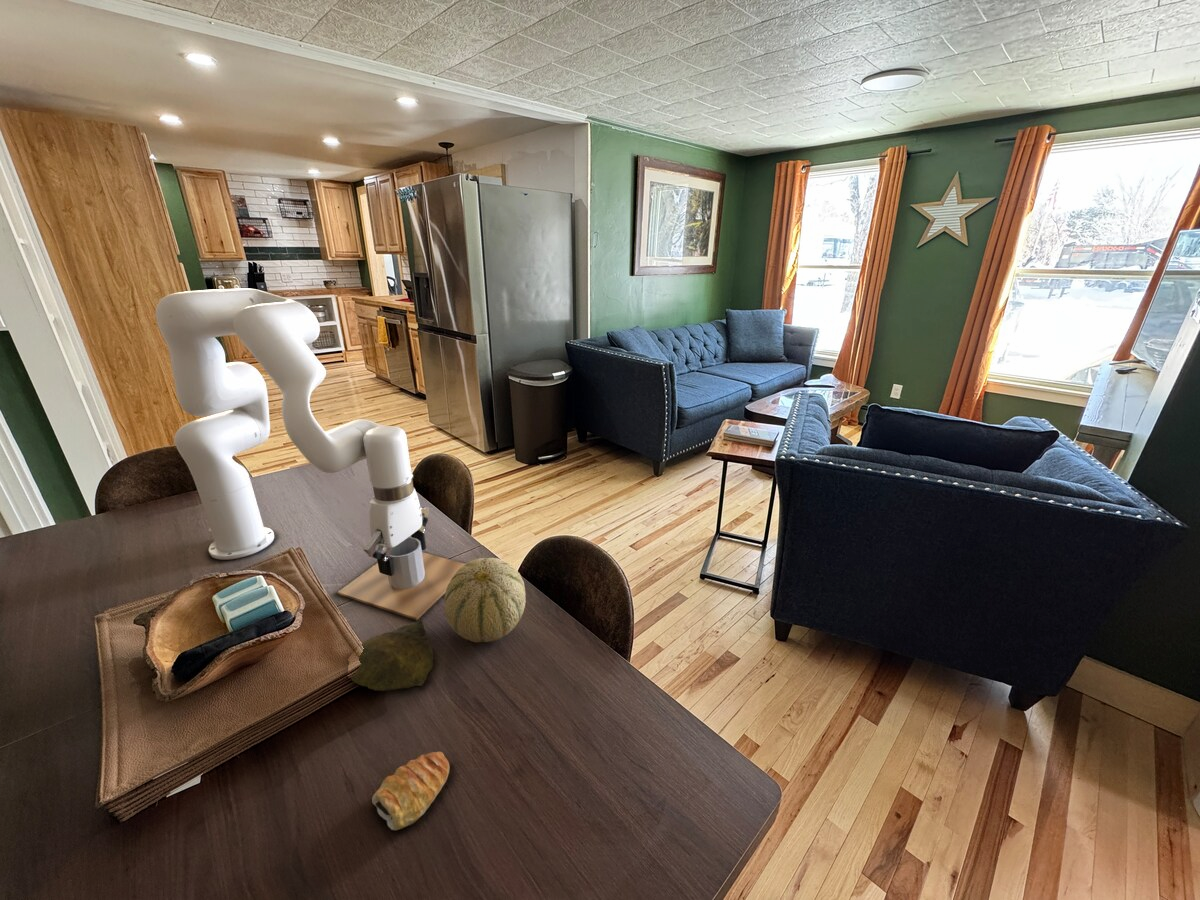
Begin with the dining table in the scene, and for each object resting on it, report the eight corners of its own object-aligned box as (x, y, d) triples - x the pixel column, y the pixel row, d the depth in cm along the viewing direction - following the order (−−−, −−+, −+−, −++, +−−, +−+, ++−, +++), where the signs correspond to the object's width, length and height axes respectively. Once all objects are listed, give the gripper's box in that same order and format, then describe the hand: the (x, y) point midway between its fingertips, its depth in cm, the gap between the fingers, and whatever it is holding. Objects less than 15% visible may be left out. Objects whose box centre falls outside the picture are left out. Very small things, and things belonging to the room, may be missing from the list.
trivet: (337, 594, 97) (337, 592, 97) (400, 548, 113) (400, 546, 112) (416, 620, 91) (416, 618, 90) (471, 567, 106) (471, 565, 106)
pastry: (430, 749, 67) (427, 731, 66) (462, 778, 64) (460, 759, 62) (368, 807, 60) (363, 788, 59) (400, 843, 56) (396, 823, 55)
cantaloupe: (499, 593, 98) (495, 531, 93) (543, 631, 89) (541, 565, 83) (432, 628, 89) (423, 562, 83) (473, 675, 79) (466, 603, 74)
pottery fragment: (348, 713, 72) (343, 693, 71) (347, 648, 84) (343, 630, 82) (439, 682, 78) (436, 663, 76) (426, 625, 89) (424, 608, 88)
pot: (381, 584, 99) (375, 552, 96) (405, 564, 106) (400, 534, 103) (409, 592, 97) (403, 560, 94) (432, 572, 103) (427, 541, 100)
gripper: (408, 468, 102) (417, 536, 108) (342, 504, 87) (357, 580, 93) (437, 474, 100) (444, 543, 106) (374, 512, 84) (387, 589, 91)
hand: (403, 560), depth 100 cm, fingers open, 9 cm apart
